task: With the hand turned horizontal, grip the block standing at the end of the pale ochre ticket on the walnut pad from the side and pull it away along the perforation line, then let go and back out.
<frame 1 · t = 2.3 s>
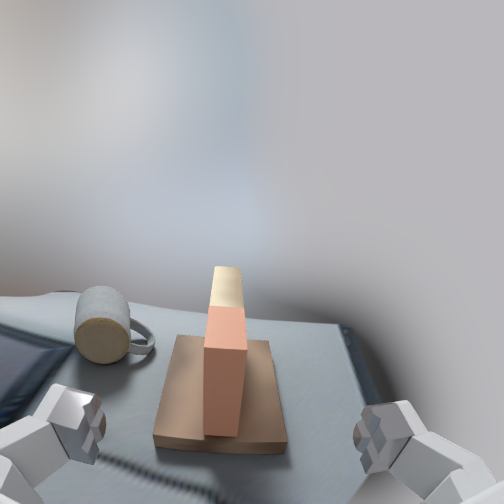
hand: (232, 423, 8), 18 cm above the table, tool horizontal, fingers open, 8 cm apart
ceramic mug: (115, 348, 37), on the table
block: (222, 374, 25), point 7 cm above the table, slide at 0.0 cm
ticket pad: (220, 393, 32), on the table
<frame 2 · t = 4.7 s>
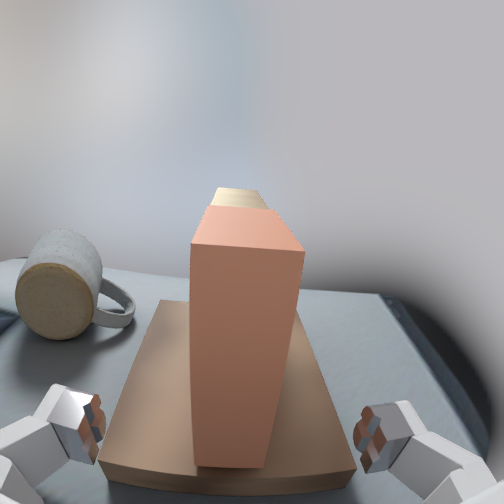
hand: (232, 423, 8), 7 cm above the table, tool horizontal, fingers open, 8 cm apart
ceramic mug: (79, 321, 25), on the table
block: (234, 341, 13), point 7 cm above the table, slide at 0.0 cm
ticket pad: (226, 387, 19), on the table
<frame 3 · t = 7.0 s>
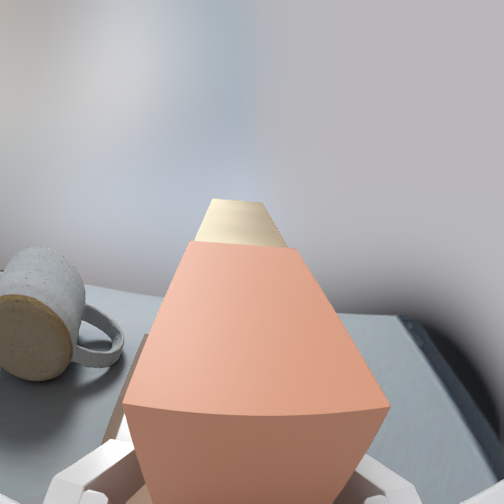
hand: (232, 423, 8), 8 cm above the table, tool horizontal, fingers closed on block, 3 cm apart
ceramic mug: (61, 354, 20), on the table
block: (232, 449, 7), point 7 cm above the table, slide at 0.0 cm, touching gripper
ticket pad: (224, 452, 14), on the table
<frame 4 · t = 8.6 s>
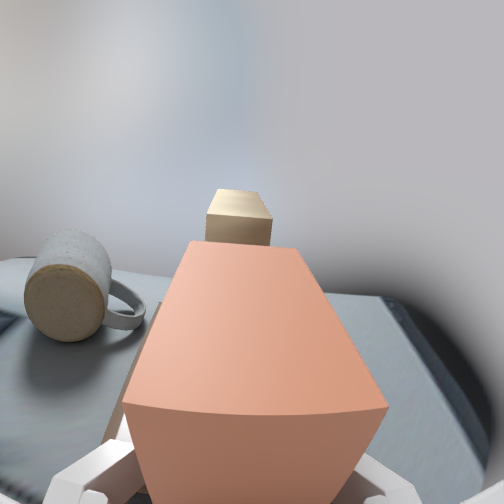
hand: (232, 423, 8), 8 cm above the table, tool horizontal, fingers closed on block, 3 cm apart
ceramic mug: (89, 322, 25), on the table
block: (232, 449, 7), point 7 cm above the table, slide at 5.1 cm, touching gripper
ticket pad: (224, 392, 19), on the table
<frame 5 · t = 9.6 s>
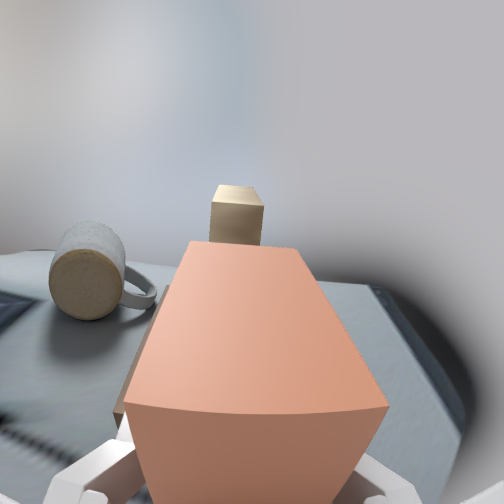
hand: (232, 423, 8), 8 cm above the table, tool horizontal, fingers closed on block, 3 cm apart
ceramic mug: (104, 304, 29), on the table
block: (232, 449, 7), point 7 cm above the table, slide at 8.9 cm, touching gripper
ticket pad: (225, 359, 23), on the table
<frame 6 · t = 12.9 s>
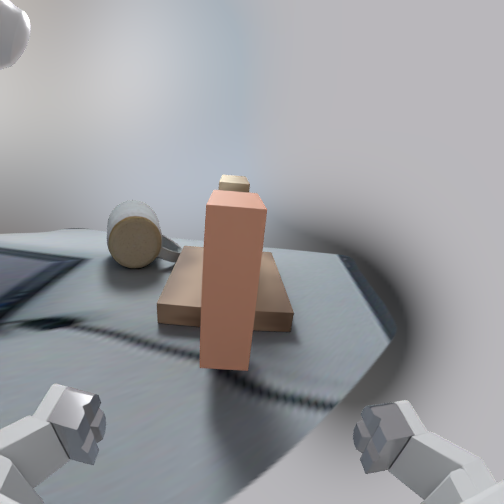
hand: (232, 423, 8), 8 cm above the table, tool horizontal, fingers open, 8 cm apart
ceramic mug: (143, 261, 41), on the table
block: (229, 276, 20), point 7 cm above the table, slide at 8.9 cm
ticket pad: (225, 288, 35), on the table
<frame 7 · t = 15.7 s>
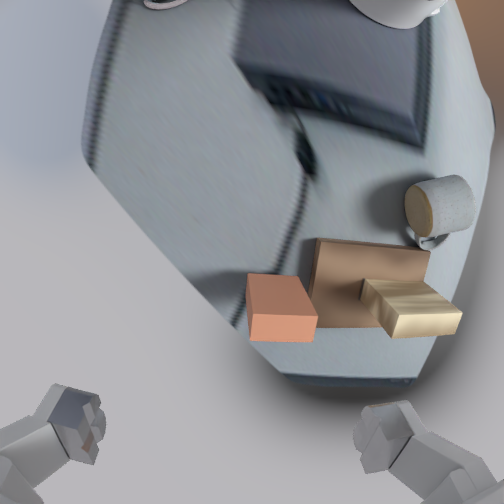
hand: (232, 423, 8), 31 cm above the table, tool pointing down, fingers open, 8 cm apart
ceramic mug: (425, 210, 39), on the table
block: (277, 304, 34), point 7 cm above the table, slide at 8.9 cm
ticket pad: (366, 283, 42), on the table
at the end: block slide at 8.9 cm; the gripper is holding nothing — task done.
